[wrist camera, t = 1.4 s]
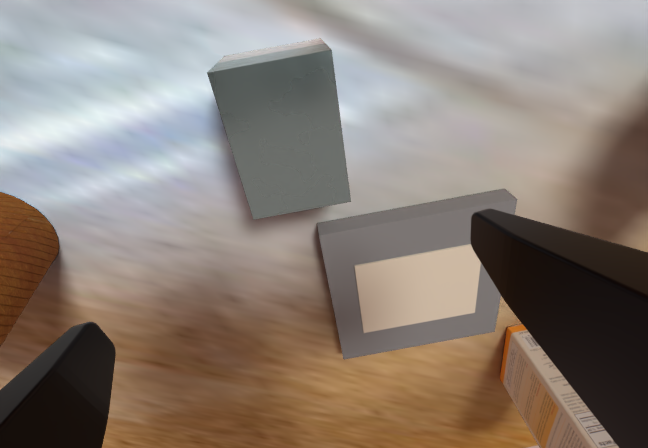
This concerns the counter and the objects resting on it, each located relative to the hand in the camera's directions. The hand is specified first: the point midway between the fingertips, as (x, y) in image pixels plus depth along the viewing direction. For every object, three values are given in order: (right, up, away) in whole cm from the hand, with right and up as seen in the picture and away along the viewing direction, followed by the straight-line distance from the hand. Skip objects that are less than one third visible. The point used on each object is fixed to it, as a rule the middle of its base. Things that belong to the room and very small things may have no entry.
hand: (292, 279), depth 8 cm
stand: (+8, -3, +19) cm, 21 cm away
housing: (-1, +8, +12) cm, 14 cm away
